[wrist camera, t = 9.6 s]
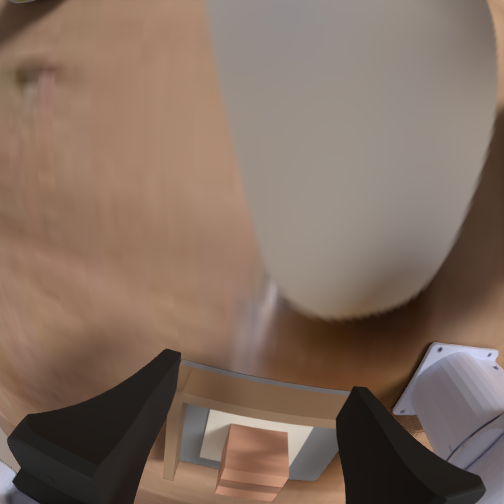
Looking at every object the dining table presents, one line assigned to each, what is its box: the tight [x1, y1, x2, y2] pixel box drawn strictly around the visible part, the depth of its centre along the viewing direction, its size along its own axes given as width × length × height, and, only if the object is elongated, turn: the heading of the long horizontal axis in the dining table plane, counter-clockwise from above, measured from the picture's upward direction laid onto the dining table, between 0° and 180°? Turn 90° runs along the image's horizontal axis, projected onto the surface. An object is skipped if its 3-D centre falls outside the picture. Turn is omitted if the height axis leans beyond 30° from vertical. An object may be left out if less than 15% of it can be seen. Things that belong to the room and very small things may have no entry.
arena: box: [163, 359, 351, 481], centre depth 23 cm, size 16×14×4 cm
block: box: [215, 423, 289, 501], centre depth 21 cm, size 5×5×5 cm
